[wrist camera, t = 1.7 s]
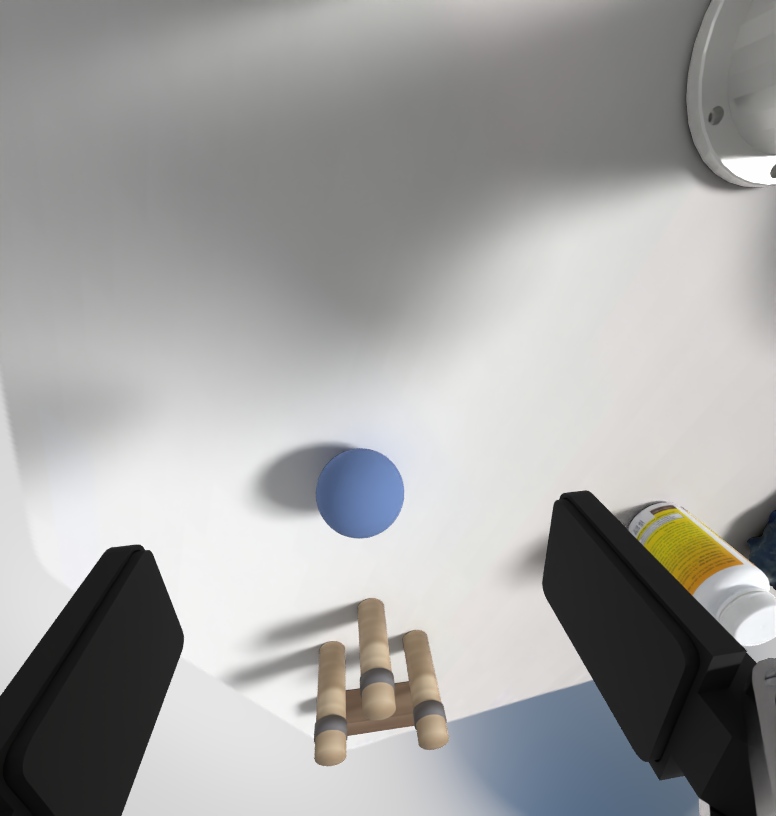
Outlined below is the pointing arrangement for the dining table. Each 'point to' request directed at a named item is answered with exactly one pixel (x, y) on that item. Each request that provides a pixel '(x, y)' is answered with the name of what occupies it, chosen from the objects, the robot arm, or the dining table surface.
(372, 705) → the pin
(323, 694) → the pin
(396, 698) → the back wall
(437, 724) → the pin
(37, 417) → the dining table surface
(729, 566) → the supplement bottle
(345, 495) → the ball
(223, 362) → the dining table surface
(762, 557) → the fish model
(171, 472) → the dining table surface
